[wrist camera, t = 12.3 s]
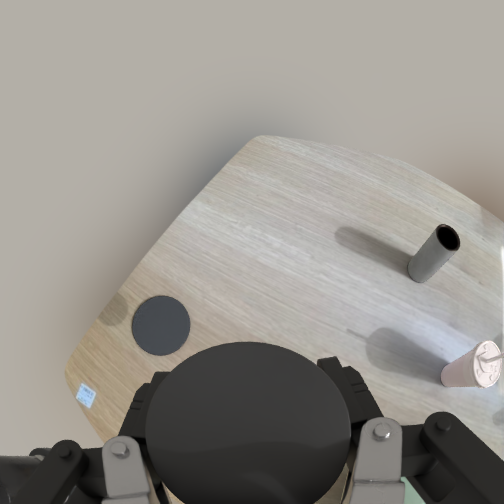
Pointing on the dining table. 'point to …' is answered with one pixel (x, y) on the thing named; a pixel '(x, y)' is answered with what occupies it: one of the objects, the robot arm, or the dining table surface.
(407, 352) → the dining table surface
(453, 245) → the planter
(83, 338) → the dining table surface
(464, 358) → the smoothie
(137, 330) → the coaster
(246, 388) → the dark grey cylinder
